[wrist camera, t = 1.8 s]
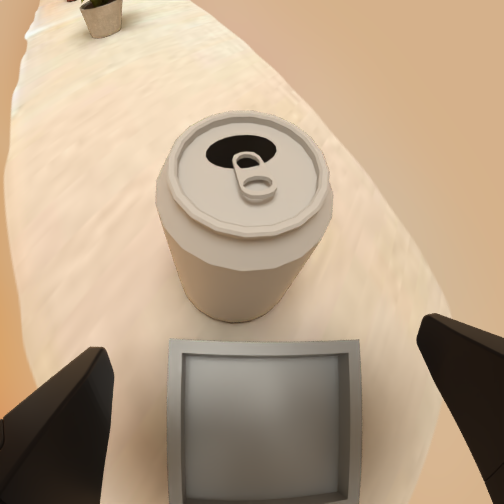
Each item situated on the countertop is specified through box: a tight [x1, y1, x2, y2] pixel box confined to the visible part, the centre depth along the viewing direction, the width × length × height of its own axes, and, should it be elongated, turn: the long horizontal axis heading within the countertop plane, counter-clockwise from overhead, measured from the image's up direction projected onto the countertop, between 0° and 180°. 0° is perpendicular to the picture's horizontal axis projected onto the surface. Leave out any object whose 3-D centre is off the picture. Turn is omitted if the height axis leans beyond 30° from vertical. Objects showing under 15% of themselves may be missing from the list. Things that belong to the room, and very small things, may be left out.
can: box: [155, 111, 333, 323], centre depth 16 cm, size 8×8×12 cm
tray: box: [167, 338, 362, 504], centre depth 16 cm, size 12×12×2 cm
